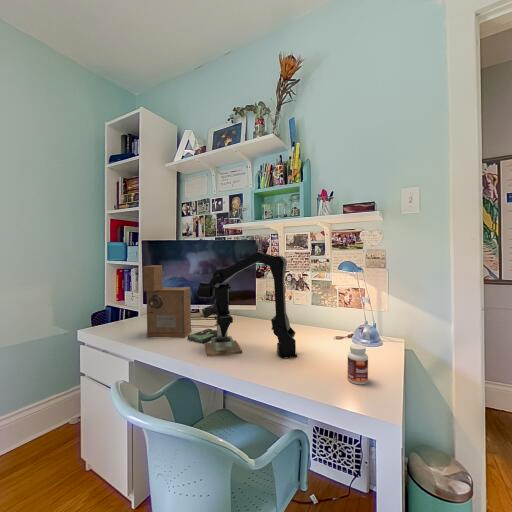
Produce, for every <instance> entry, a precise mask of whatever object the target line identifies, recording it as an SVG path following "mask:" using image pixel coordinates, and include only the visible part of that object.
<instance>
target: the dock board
mask: <svg viewBox="0 0 512 512" xmlns="http://www.w3.org/2000/svg"><path fill="white" fill-rule="evenodd" d="M204 348H205V352H206V356H207V357H208V356H209V357H217V356H218V357H219V356H226V355H239V354H242V353H243V350H242V349H241V347H240V345H239V344H238V342H237V340H236V339H235V340H234V338H233V337H232V336H231V335H228V342H219V343H217V337H213V338H211V341H210V342H207V343H204ZM209 357H208V358H209Z"/></svg>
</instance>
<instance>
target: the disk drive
mask: <svg viewBox="0 0 512 512" xmlns="http://www.w3.org/2000/svg"><path fill="white" fill-rule="evenodd" d="M213 337H217V329H212V328H206V329H204V330H200V331H197V332H194V333H192V334H191V333H190V334H189V335H188V336H187V337H186V338H187V339H186V340H187V341H188V340H189V342H192V341H193V343H197V344H202V345H205V343H210V342H211V338H213Z"/></svg>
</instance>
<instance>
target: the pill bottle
mask: <svg viewBox="0 0 512 512" xmlns="http://www.w3.org/2000/svg"><path fill="white" fill-rule="evenodd" d="M347 380H348V381H349V382H350V383H352V384H355V385H365V384H367V383H368V382H369V356H368V354H367V353H366V346H365V345H364V344H359V343H358V344H355V343H353V344H350V345H349V352H348V353H347Z"/></svg>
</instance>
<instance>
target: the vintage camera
mask: <svg viewBox="0 0 512 512" xmlns="http://www.w3.org/2000/svg"><path fill="white" fill-rule="evenodd" d="M142 273H143V274H142V282H143V287H142V288H143V289H142V290H143V292H146V338H151V337H171V338H172V339H177V338H178V339H186V338H187V337H188V336H189V335H191V333H192V319H191V318H192V317H191V316H192V313H191V312H192V307H191V306H192V305H191V304H192V303H191V287H190V286H187V287H184V286H183V287H182V286H181V287H179V286H176V287H175V286H174V287H173V286H172V287H171V286H169V287H168V286H167V287H166V286H165V287H163V265H161V264H160V265H159V264H158V265H153V264H152V265H145V266H143V267H142ZM185 337H186V338H185ZM171 338H170V339H171Z"/></svg>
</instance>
